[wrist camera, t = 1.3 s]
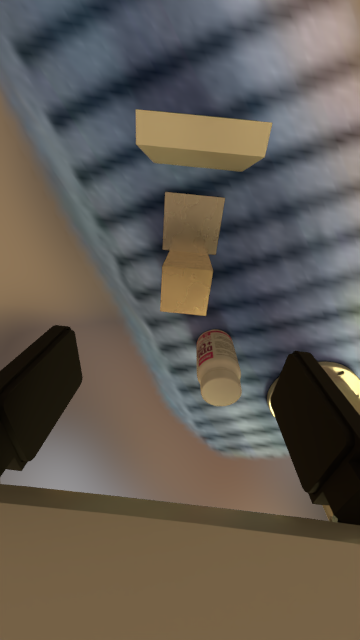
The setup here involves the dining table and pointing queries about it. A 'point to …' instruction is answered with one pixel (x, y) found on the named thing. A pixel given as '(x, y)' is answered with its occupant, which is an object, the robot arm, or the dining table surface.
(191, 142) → the block
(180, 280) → the beige boxy piece
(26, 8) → the dining table surface
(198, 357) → the pill bottle
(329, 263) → the dining table surface
